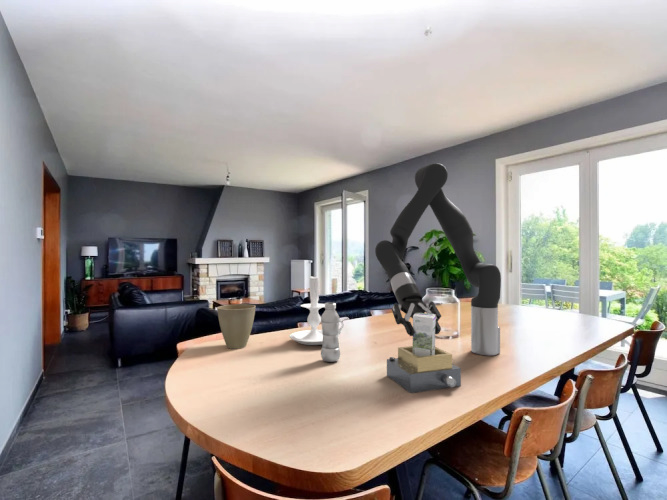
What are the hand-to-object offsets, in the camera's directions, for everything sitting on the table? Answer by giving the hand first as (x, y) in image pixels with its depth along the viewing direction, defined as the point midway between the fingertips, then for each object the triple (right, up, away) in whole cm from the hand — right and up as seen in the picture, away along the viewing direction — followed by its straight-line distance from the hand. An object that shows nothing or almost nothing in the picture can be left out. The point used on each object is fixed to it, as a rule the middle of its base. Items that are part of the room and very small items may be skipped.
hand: (425, 333), depth 101 cm
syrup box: (0, -9, +1) cm, 9 cm away
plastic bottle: (-28, -14, +20) cm, 37 cm away
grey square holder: (0, -14, 0) cm, 14 cm away
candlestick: (-33, -15, +46) cm, 58 cm away
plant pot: (-65, -15, +39) cm, 78 cm away
